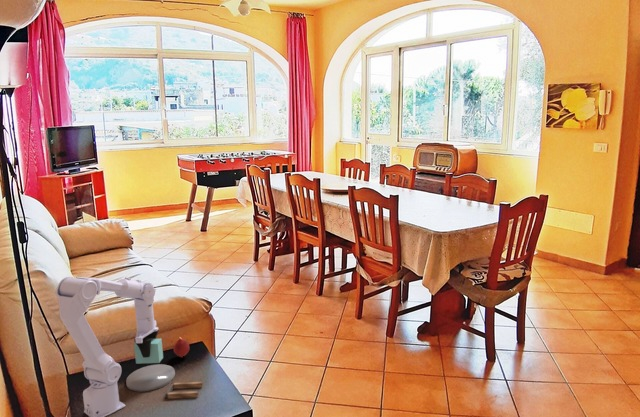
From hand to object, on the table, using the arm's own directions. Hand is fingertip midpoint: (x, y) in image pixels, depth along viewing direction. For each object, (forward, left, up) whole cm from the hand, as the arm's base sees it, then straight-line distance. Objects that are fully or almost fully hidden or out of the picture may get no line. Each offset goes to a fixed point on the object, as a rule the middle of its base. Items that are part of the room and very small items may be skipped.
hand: (148, 353), depth 158 cm
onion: (+16, +5, -10) cm, 19 cm away
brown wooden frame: (+2, -17, -9) cm, 20 cm away
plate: (0, 0, -9) cm, 9 cm away
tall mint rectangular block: (0, 0, -2) cm, 3 cm away
